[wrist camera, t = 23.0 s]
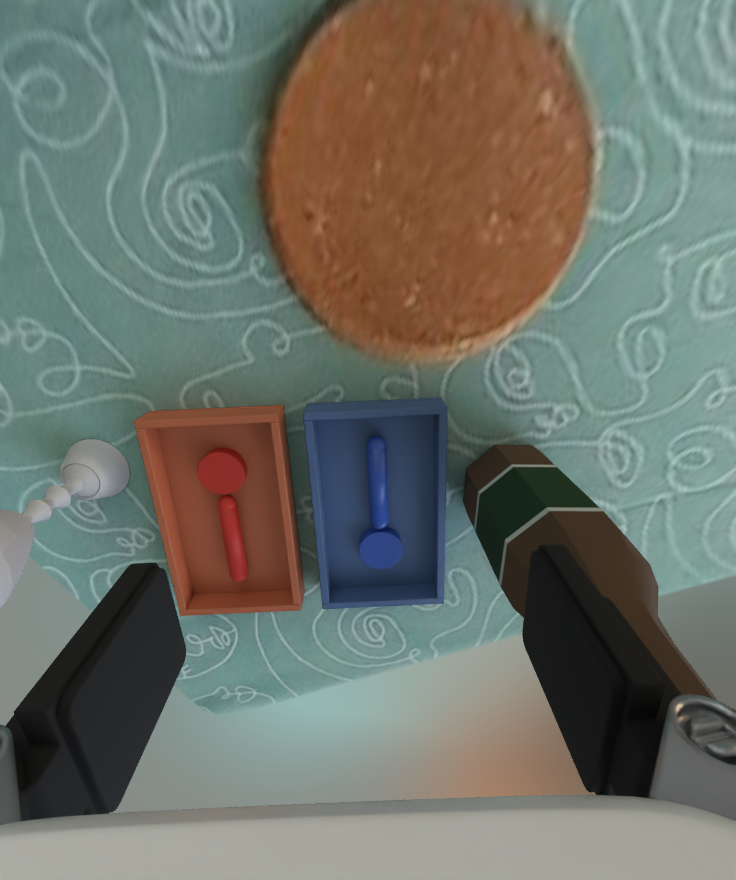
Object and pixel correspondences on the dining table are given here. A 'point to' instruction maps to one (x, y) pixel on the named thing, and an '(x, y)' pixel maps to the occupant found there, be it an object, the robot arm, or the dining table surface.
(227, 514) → the red spoon
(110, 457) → the chalice
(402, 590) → the blue tray
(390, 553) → the blue spoon
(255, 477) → the terracotta tray
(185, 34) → the dining table surface
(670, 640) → the beer bottle
